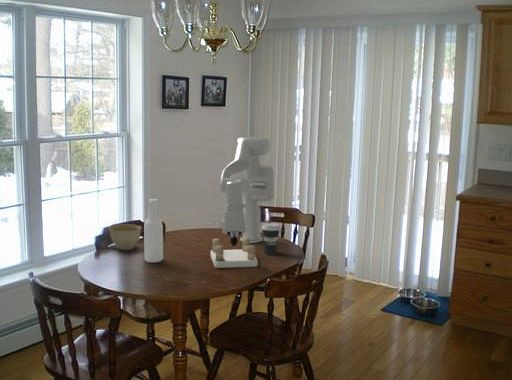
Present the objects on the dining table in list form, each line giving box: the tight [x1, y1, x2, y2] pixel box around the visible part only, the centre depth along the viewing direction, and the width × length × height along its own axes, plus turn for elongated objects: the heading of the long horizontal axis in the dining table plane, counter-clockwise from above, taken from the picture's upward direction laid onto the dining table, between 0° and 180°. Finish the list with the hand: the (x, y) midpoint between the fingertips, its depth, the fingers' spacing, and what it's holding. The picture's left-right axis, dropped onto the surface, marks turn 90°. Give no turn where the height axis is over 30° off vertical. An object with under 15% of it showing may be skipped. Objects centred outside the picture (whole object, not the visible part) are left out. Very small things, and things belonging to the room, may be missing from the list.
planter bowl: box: [109, 223, 142, 251], centre depth 306 cm, size 16×16×11 cm
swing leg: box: [216, 245, 224, 260], centre depth 280 cm, size 10×4×6 cm, turn 9°
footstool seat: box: [210, 248, 258, 269], centre depth 286 cm, size 20×20×3 cm
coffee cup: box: [261, 222, 281, 256], centre depth 300 cm, size 10×10×15 cm
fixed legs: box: [212, 238, 256, 260], centre depth 285 cm, size 19×19×6 cm
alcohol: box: [143, 198, 164, 264], centre depth 282 cm, size 9×9×30 cm
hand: (233, 245), depth 278 cm, fingers closed
